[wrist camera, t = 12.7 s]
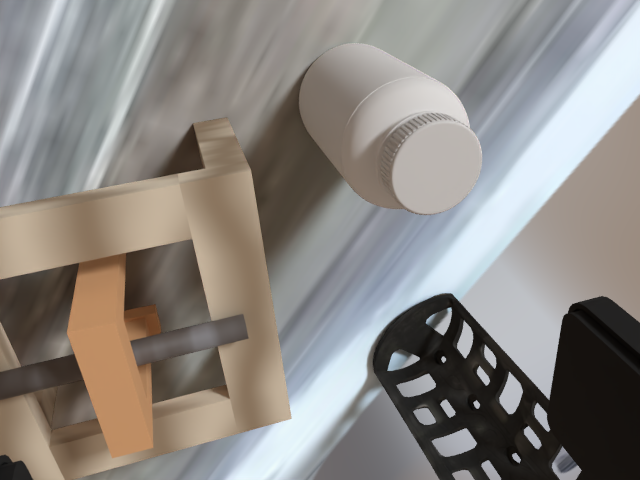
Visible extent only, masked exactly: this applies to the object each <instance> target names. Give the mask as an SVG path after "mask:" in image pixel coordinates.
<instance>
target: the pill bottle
mask: <svg viewBox="0 0 640 480" xmlns="http://www.w3.org/2000/svg"><path fill="white" fill-rule="evenodd" d="M299 110H300V115H301V118H302V121H303V123H304V126H305V128H306V130H307V131H308V133H309V134H310V136H311V137H312V138H313V139H314V141H315V142H316V143H317V145H318V146H319V147H320V148H321V150H322V151H323V152H324V154H325V155H326V156H327V157H328V159H329V160H330V161H331V162H332V164H333V165H334V166H335V168H336V169H337V170H338V171H339V173H340V174H341V175H342V177H343V178H344V179H345V180H346V182H347V183H348V184H349V185H350V187H351V188H352V189H353V190H354V191H355V192H356V193H357V194H358V195H359V196H360V197H362V198H363V199H365V200H366V201H368V202H370V203H372V204H374V205H377V206H380V207H384V208H390V209H405V210H407V211H409V212H412V213H415V214H419V215H422V214H423V215H431V214H437V213H441V212H444V211H446V210H449V209H450V208H452V207H454V206H455V205H457V204H458V203H460V202H461V201H462V200H463V199H464V198H465V197H466V196H467V195H468V194H469V192H470V191H471V190H472V188H473V187H474V185H475V183H476V181H477V179H478V177H479V174H480V170H481V165H482V150H481V145H480V144H479V140H478V139H477V136H476V135H475V133H474V132H473V131H472V130H471V129H470V125H469V120H468V117H467V114H466V111H465V109H464V107H463V105H462V103H461V101H460V100H459V98H458V97H457V96H456V94H455V93H454V92H453V91H452V90H451V89H449V88H448V87H447V86H446V85H444V84H443V83H441V82H439V81H438V80H436V79H434V78H432V77H430V76H428V75H427V74H425V73H423V72H421V71H419V70H417V69H415V68H414V67H412V66H410V65H408V64H406V63H404V62H403V61H401V60H399V59H397V58H395V57H393V56H392V55H390V54H388V53H386V52H384V51H382V50H381V49H379V48H376V47H374V46H371V45H366V44H361V43H349V44H343V45H339V46H337V47H334V48H332V49H330V50H328V51H327V52H325V53H324V54H322V55H321V56H320V57H319V58H318V59H317V60H316V61H315V62H314V63H313V64H312V65H311V66H310V68H309V69H308V71H307V73H306V75H305V77H304V79H303V81H302V84H301V88H300V93H299Z"/></svg>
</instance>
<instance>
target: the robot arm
mask: <svg viewBox="0 0 640 480" xmlns="http://www.w3.org/2000/svg"><path fill="white" fill-rule="evenodd" d="M547 420H548V424H549V427H550V429H551V432H552V433H553V435H554V436H555V437H556V439H557V440H558V441H559V442H560V444H561V445H562V446H563V447H564V449H565V450H566V451H567V452H568V454H569V455H570V456H571V457H572V459H573V460H574V461H575V462H576V464H577V465H578V466H579V467H580V469H581V470H582V471H583V472H584V474H585V475H586V476H587V477H588V479H589V480H640V323H639V322H638V321H637V320H636V319H634V318H633V317H632V316H631V315H629V314H628V313H627V312H626V311H625V310H623V309H622V308H621V307H619V306H618V305H617V304H616V303H615V302H613V301H612V300H611V299H609V298H607V297H603V296H601V297H597V298H593V299H589V300H585V301H582V302H578V303H575V304H572V305H571V306H570V308H569V311H568V314H565V315H564V317H563V320H562V325H561V332H560V338H559V344H558V351H557V357H556V363H555V370H554V376H553V381H552V388H551V394H550V400H549V406H548V412H547ZM0 480H33V478H32V476H31V474H30V472H29V470H28V469H27V467H26V465H25V463H24V462H23V461H21V460H20V461H16V462H12V460H11V459H10V458H9V456H7V455H1V456H0Z"/></svg>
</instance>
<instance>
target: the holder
mask: <svg viewBox="0 0 640 480" xmlns="http://www.w3.org/2000/svg"><path fill="white" fill-rule="evenodd" d="M450 307H451V308H452V317H451V322H450V325H449V327H448V329H447V331H446V333H445V334H444V336H443V335H441V334H440V333H438V332H437V331H435V330H434V329H433V328H431V327H430V326H428V325H427V324H426V320H427V319H428V318H429V317H430V316H431V315H433V314H435V313H437V312H440V311H442V310H444V309H447V308H450ZM464 321H465V322H466V323H467V324H468V325H469V326H470V327H471V329H472V331H473V344H472V347H471V350H470V353H469V354H468V356H467V358H464V357H463V356H462V354H461V353H460V352H459V350H458V349H457V343H458V341H459V338H460V336H461V333H462V329H463V322H464ZM485 345H486V346H487V347H488V348H489V349H490V350H491V351H492V352H493V354H494V355H495V357H496V363H497V364H496V368H495V369H494V368H493V367H492V366H491V365H490V363H489V362H488V361H487V360H486V358H485V357H484V348H485ZM398 349H403V350H405V351H407V352H410V353H412V354H414V355H416V356H418V357H420V360H419V361H417V362H416V363H414V364H412V365H410V366H408V367H405V368H402V369H399V370H395V371H387V370H388V366H389V362H390V359H391V356H392V354H393V353H394V352H395V351H396V350H398ZM442 356H444V357H445V358H446V361H445V362H444V363H443V362H442V360H441V358H442ZM479 366H480V367H481V368H482V369H483V370H484V372H485V373H486V374H487V375H488V376H489V379H490V383H489V384H488V385H487V386H486V385H485V384H484V383H483V382H482V380H481V379H480V377H479V376H478V375H477V369H478V367H479ZM373 367H374V373H375V374H376V376H377V377H378V379H379V381H380V382H381V384H382V385H383V387H384V389H385V390H386V392H387V394H388V395H389V397H390V398H391V400H392V402H393V403H394V405H395V407H396V408H397V410H398V411H399V413H400V415H401V416H402V418H403V420H404V421H405V423H406V424H407V426H408V428H409V430H410V431H411V433H412V434H413V436H414V438H415V439H416V441H417V442H418V444H419V446H420V447H421V449H422V451H423V452H424V454H425V455H426V457H427V459H428V461H429V462H430V464H431V466H432V467H433V469H434V471H435V473H436V474H437V476H438V478H439V479H440V480H455V478H454V477H453V475H452V473H454V472H456V471H460V470H468V471H469V472H470V473H471V475H472V476H473V478H474V479H475V480H490V479H489V477H488V476H487V475H486V473H485V472H484V470H483V468H482V467H481V464H482V463H483V462H485V461H487V460H489V461H490V462H491V464H492V465H493V467H494V468H495V470H496V471H497V473H498V474H499V475H500V477H501V480H560V479H559V478H558V477H557V475H556V474H555V473H554V472H553V469H552V463H553V461H554V460H555V458H556V456H557V455H558V453H559V452H560V450H561V448H562V445H561V444H560V442H559V441H558V440H557V439H556V437H555V436H554V435H553V433H552V432H551V430H550V431H549V432H547V431H546V430H545V429H544V428H543V426H542V425H541V424H540V423H539V422H538V420H537V419H536V418H535V415H534V408H535V405H536V404H537V403H539V405H540V406H541V407H542V408H543V409H544V410H545V411H546V413H547V412H548V406H549V400H548V399H547V398H546V396H545V395H544V394H543V393H542V392H541V391H540V390H539V389H538V387H537V386H536V385H535V384H534V383H533V382H532V381H531V380H530V379H529V378H528V377H527V376H526V374H525V373H524V372H523V371H522V370H521V369H520V368H519V367H518V366H517V365H516V364H515V363H514V361H513V360H512V359H511V358H510V357H509V356H508V355H507V354H506V353H505V352H504V351H503V350H502V349H501V347H500V346H499V345H498V344H497V343H496V342H495V341H494V340H493V339H492V338H491V336H490V335H489V334H488V333H487V332H486V331H485V330H484V329H483V328H482V327H481V326H480V324H479V323H478V322H477V321H476V320H475V319H474V318H473V317H472V316H471V315H470V313H469V312H468V311H467V310H466V309H465V308H464V306H463V305H462V304H461V303H460V302H459V301H458V300H457V299H456V298H455V297H454V296H453V295H452V294H451V293H445V294H440V295H437V296H434V297H432V298H430V299H428V300H426V301H423V302H421V303H420V304H418V305H416V306H414V307H413V308H412V309H410V310H409V311H407V312H406V313H405V314H403V315H402V316H401V317H400V318H399V319H398V320H397V321H396V322H395V323H393V324H392V325H391V326H390V327H389V329H388V330H387V331H386V333H385V334H384V336H383V337H382V339H381V340H380V342H379V343H378V346H377V348H376V351H375V353H374V359H373ZM509 371H510V372H511V374H512V375H513V376H514V377H515V378H516V379H517V380H518V381H519V382H520V383H521V386H522V389H523V394H522V397H521V400H520V403H519V406H518V407H517V409H516V411H515V412H514V413H513V414H508V413H507V412H506V411H505V409H504V408H503V407H502V405H501V404H500V402H499V397H500V395H501V393H502V391H503V389H504V387H505V384H506V382H507V379H508V374H509ZM425 374H430V376H431V377H432V378H433V380H434V381H435V383H436V387H435V388H434V389H432V390H431V391H428V392H426V393H423V394H421V395H418V396H414V397H404V396H403V395H402V394H401V393H400V391H399V390H398V388H397V386H396V385H398V384H400V383H404V382H408V381H411V380H414V379H417V378H419V377H421V376H423V375H425ZM445 399H447V400H448V402H449V403H450V405H451V406H452V408H453V409H454V410H455V412H456V413H455V415H454V416H453V417H451V418H449V417H448V416H447V414H446V413H445V411H444V410H443V408H442V407H441V405H440V404H441V402H442V401H443V400H445ZM476 400H477V401H478V402H479V403H480V407H479V409H476V408H475V406H474V404H473V402H474V401H476ZM420 408H428V409H429V410H430V412H431V413H432V415H433V416H434V418H435V420H436V423H434V424H431V425H423V424H422V423H420V422H419V421H418V419H417V418H416V416H415V415H414V413H413V411H414V410H416V409H420ZM528 426H529V427H530V428H531V429H532V430H533V431H534V433H535V434H536V435H537V437H538V438H539V440H540V441H541V444H542V446H541V447H540V449H536V448H535V447H534V446H533V445H532V443H531V442H530V441H529V440H528V438H527V437H526V436H525V435H524V429H525V428H526V427H528ZM464 428H467V429H468V430H469V432H470V433H471V435H472V436H473V438H474V439H475V441H476V442H477V445H476V446H475V448H473V449H471V450H469V451H467V452H464V453H462V454H458V455H455V456H450V457H444V456H442V455H440V453H439V452H438V450H437V449H436V448H435V446H434V445H433V443H432V442H431V441H432V440H434V439H436V438H440V437H444V436H447V435H450V434H452V433H455V432H457V431H460V430H462V429H464ZM514 453H517V455H518V456H519V457H520V459H521V461H520V464H519V463H518V462H516V461H515V460H514V459H513V457H512V454H514ZM576 480H589V479H588V477H587V476H586V475H585V474H584V472H583V471H581V473H580V474H579V476H578V478H577V479H576Z"/></svg>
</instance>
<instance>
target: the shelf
mask: <svg viewBox="0 0 640 480" xmlns="http://www.w3.org/2000/svg"><path fill="white" fill-rule="evenodd" d="M193 125H194V130H195V135H196V140H197V144H198V149H199V154H200V158H201V162H202V165H203V169H200V170H195V171H190V172H184V173H179V174H174V175H168V176H163V177H158V178H153V179H147V180H142V181H137V182H131V183H126V184H121V185H116V186H110V187H105V188H100V189H94V190H89V191H84V192H79V193H73V194H68V195H63V196H57V197H52V198H47V199H42V200H36V201H31V202H26V203H20V204H15V205H10V206H5V207H0V279H4V278H9V277H14V276H18V275H23V274H28V273H33V272H37V271H42V270H47V269H52V268H56V267H61V266H66V265H71V264H75V263H80V262H85V261H89V260H94V259H99V258H104V257H108V256H113V255H118V254H123V253H127V252H132V251H137V250H142V249H146V248H151V247H156V246H160V245H165V244H170V243H175V242H179V241H184V240H189V239H192V240H193V244H194V248H195V253H196V257H197V261H198V265H199V270H200V274H201V278H202V282H203V287H204V291H205V295H206V299H207V304H208V308H209V312H210V316H211V322H207V323H202V324H198V325H194V326H190V327H186V328H181V329H177V330H173V331H169V332H165V333H161V334H156V335H152V336H148V337H144V338H140V339H136V340H131V341H130V343H131V347H132V350H133V353H134V357H135V360H136V364H137V366H140V365H145V364H149V363H153V362H157V361H161V360H165V359H169V358H173V357H177V356H181V355H185V354H189V353H193V352H197V351H201V350H205V349H209V348H213V347H217V346H218V350H219V355H220V359H221V363H222V367H223V372H224V376H225V380H226V385H223V386H219V387H215V388H211V389H207V390H203V391H200V392H196V393H192V394H188V395H184V396H181V397H177V398H173V399H169V400H165V401H161V402H158V403H154V404H152V418H153V448H151V449H147V450H143V451H139V452H135V453H131V454H127V455H124V456H120V457H116V458H112V457H111V454H110V451H109V448H108V446H107V443H106V440H105V437H104V435H103V432H102V429H101V426H100V423H99V421H98V418H96V419H93V420H89V421H85V422H81V423H77V424H73V425H70V426H66V427H62V428H58V429H54V430H51V424H52V418H53V412H54V406H55V400H56V393H57V386H60V385H64V384H68V383H72V382H76V381H80V380H84V379H83V376H82V373H81V371H80V368H79V365H78V362H77V359H76V357H75V354H73V355H69V356H65V357H60V358H56V359H52V360H48V361H44V362H40V363H35V364H31V365H27V366H23V367H21V365H20V363H19V360H18V358H17V356H16V354H15V352H14V350H13V348H12V346H11V344H10V342H9V339H8V337H7V335H6V333H5V331H4V329H3V327H2V325H1V323H0V456H1V455H7V456H9V458H10V459H11V460H12V462H16V461H20V460H21V461H23V462H24V463H25V465H26V467H27V469H28V470H29V472H30V474H31V476H32V478H33V480H73V479H77V478H80V477H84V476H88V475H91V474H95V473H98V472H102V471H106V470H109V469H113V468H116V467H120V466H124V465H127V464H131V463H134V462H138V461H141V460H145V459H149V458H152V457H156V456H159V455H163V454H167V453H170V452H174V451H177V450H181V449H185V448H188V447H192V446H195V445H199V444H202V443H206V442H210V441H213V440H217V439H220V438H224V437H228V436H231V435H235V434H238V433H242V432H246V431H249V430H253V429H256V428H260V427H263V426H267V425H271V424H274V423H278V422H281V421H285V420H289V419H292V418H291V412H290V406H289V400H288V394H287V388H286V382H285V375H284V369H283V363H282V357H281V351H280V345H279V339H278V332H277V326H276V320H275V314H274V308H273V302H272V296H271V290H270V283H269V277H268V271H267V265H266V259H265V253H264V247H263V240H262V234H261V228H260V222H259V216H258V210H257V204H256V197H255V191H254V185H253V179H252V173H251V169H250V167H249V165H248V162H247V160H246V158H245V156H244V154H243V151H242V149H241V147H240V145H239V143H238V140H237V138H236V136H235V134H234V132H233V129H232V127H231V125H230V123H229V121H228V118H221V119H215V120H209V121H204V122H198V123H193Z"/></svg>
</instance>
